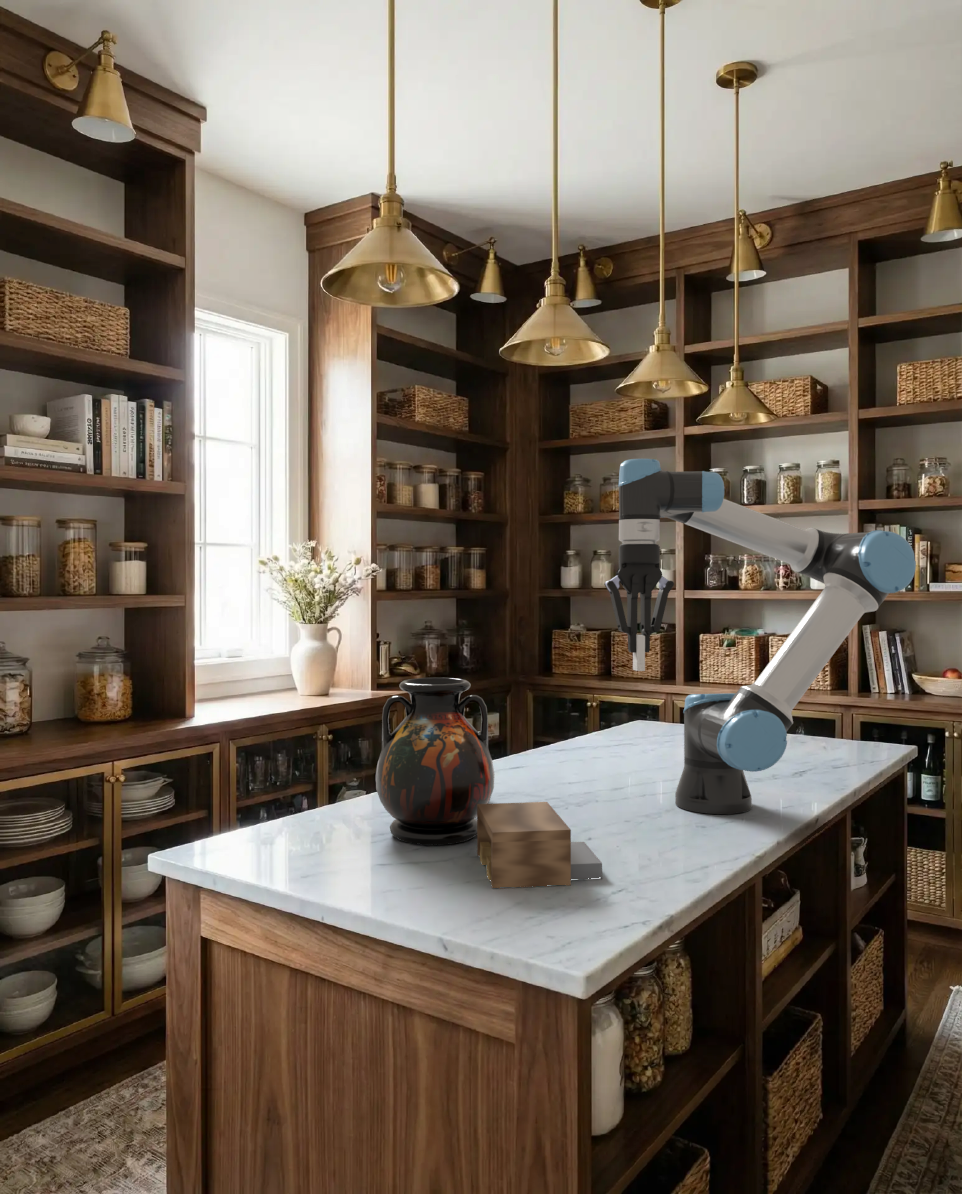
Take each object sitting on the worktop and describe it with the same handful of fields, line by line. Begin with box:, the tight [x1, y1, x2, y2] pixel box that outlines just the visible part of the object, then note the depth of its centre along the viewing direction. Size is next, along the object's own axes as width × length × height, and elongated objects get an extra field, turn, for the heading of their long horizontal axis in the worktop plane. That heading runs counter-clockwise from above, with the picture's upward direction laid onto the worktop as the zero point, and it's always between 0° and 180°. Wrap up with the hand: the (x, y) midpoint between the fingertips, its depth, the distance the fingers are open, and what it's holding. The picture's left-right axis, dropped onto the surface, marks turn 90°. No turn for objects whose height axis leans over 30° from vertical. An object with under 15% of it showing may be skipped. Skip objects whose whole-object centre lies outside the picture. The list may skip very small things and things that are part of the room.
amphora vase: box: [375, 677, 495, 846], centre depth 174 cm, size 22×22×28 cm
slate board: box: [571, 841, 603, 879], centre depth 154 cm, size 16×12×3 cm
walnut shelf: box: [476, 801, 572, 889], centre depth 154 cm, size 12×18×8 cm, turn 8°
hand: (638, 670), depth 178 cm, fingers closed
